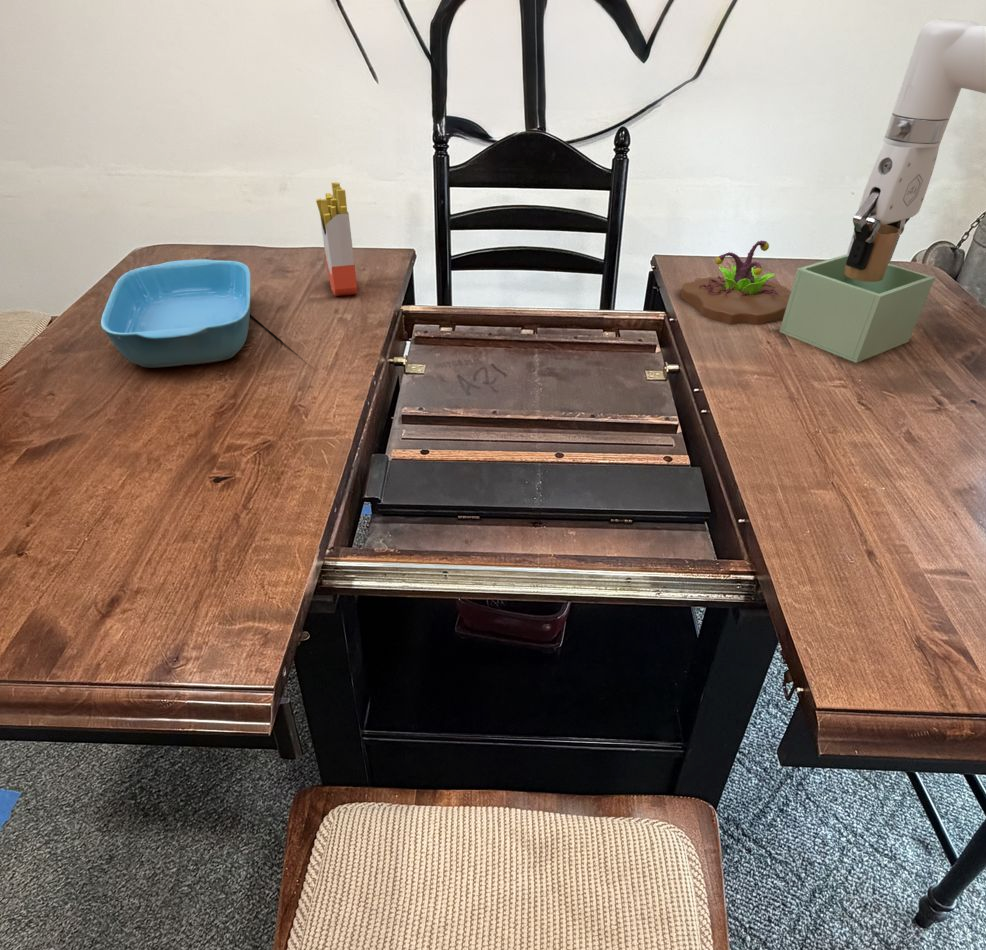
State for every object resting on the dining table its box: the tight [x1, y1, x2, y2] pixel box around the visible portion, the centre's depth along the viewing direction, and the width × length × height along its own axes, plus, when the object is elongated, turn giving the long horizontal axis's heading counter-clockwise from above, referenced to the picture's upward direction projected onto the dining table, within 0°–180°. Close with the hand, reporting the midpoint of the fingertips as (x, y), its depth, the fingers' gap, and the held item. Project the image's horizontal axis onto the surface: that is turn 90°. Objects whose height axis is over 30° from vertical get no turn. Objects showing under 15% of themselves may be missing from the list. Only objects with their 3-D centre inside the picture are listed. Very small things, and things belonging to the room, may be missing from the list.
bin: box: [779, 253, 936, 364], centre depth 118 cm, size 15×15×11 cm
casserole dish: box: [100, 258, 252, 369], centre depth 118 cm, size 37×22×7 cm, turn 14°
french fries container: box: [315, 181, 358, 297], centre depth 130 cm, size 5×11×18 cm, turn 17°
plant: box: [680, 240, 791, 326], centre depth 129 cm, size 20×20×11 cm
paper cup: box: [844, 223, 901, 282], centre depth 113 cm, size 6×6×7 cm
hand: (868, 262), depth 114 cm, fingers closed on paper cup, 6 cm apart
